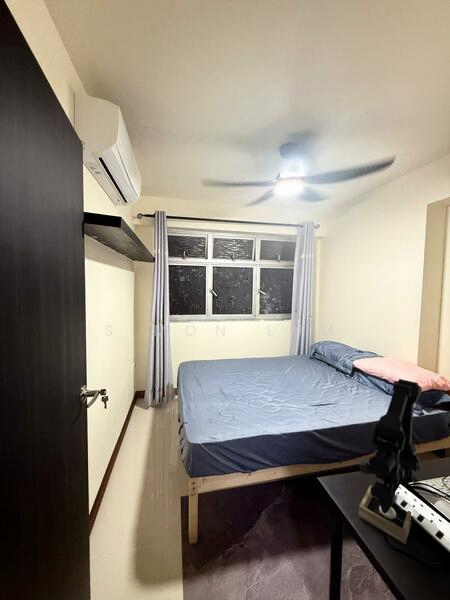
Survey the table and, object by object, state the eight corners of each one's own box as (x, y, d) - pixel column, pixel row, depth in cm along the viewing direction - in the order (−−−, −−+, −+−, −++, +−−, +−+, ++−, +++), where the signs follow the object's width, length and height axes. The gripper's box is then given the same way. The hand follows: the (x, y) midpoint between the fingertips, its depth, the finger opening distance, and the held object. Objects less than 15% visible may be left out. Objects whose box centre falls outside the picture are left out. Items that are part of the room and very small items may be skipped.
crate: (370, 493, 94) (370, 484, 94) (413, 515, 85) (413, 505, 85) (358, 516, 85) (358, 506, 85) (405, 543, 76) (405, 532, 75)
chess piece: (399, 520, 83) (399, 491, 83) (382, 517, 84) (383, 489, 84) (392, 507, 88) (392, 479, 88) (376, 505, 89) (377, 478, 89)
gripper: (370, 438, 97) (369, 476, 98) (353, 462, 84) (353, 506, 85) (405, 451, 90) (404, 492, 90) (392, 480, 76) (391, 528, 77)
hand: (387, 503), depth 86 cm, fingers open, 9 cm apart
